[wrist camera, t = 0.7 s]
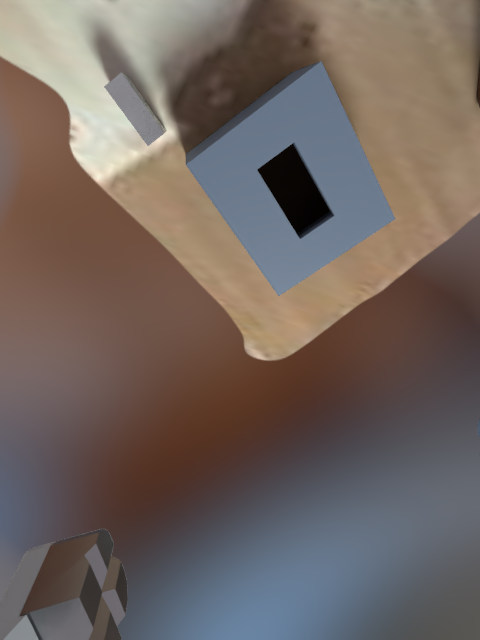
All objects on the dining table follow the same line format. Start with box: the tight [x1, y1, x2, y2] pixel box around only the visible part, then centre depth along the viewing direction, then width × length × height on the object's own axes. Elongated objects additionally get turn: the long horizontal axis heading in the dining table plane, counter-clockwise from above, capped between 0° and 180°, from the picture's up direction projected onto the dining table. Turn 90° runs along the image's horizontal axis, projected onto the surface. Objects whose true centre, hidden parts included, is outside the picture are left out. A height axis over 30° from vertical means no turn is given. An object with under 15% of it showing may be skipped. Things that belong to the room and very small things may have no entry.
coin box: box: [186, 61, 395, 296], centre depth 42 cm, size 16×14×10 cm
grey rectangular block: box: [105, 72, 166, 146], centre depth 39 cm, size 6×2×5 cm, turn 34°
